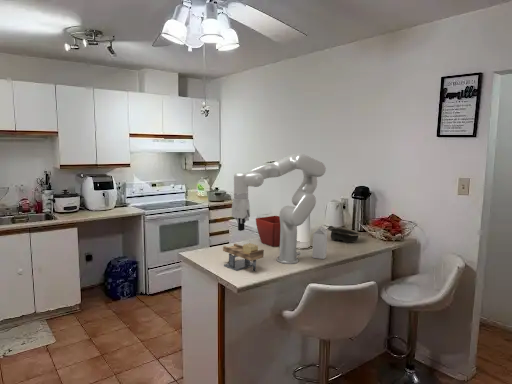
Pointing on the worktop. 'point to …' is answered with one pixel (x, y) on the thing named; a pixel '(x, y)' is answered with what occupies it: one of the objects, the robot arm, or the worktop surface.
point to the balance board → (239, 252)
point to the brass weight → (249, 248)
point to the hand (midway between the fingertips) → (241, 230)
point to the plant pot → (269, 230)
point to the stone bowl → (344, 234)
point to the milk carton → (319, 243)
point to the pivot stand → (239, 263)
